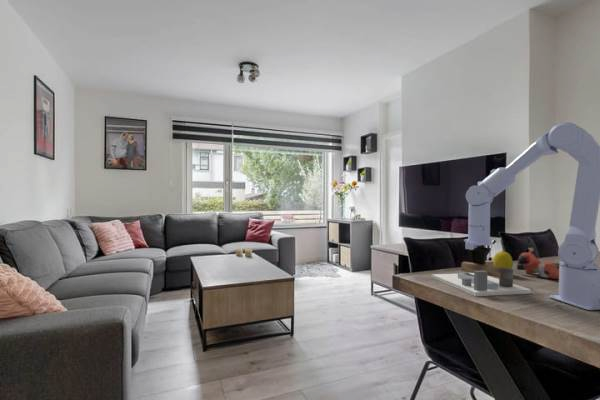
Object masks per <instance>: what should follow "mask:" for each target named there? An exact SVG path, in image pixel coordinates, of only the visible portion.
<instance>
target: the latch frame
mask: <svg viewBox="0 0 600 400" xmlns="http://www.w3.org/2000/svg"><path fill="white" fill-rule="evenodd" d="M431 278H432V279H434V280H436V281H439V282H441V283H444V284H446V285H448V286H451V287H452V288H455V289H457V290H460V291H463V292H464V293H467V294H469V295H471V296H474V297H484V296H485V297H486V296H487V297H488V296H504V295H505V296H506V295H508V296H509V295H526V294H532V289H530V288H528V287H524V286H521V285H518V284H516V283H515V284H514V283H513V286H512V287H507V286H502V285H499V278H497V277H493V276H487V271H474V273H471V272H457V273H439V274H438V273H437V274H436V273H434V274H431Z"/></svg>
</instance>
